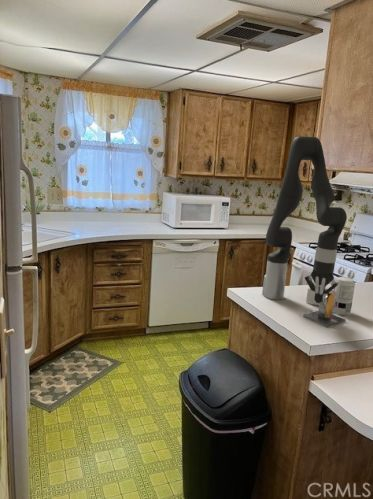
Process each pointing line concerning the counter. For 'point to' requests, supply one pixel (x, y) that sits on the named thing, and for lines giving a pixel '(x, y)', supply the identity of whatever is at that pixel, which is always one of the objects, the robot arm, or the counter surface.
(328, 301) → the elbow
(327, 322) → the grey stand with base
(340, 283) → the supplement can
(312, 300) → the medicine bottle
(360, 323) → the counter surface
